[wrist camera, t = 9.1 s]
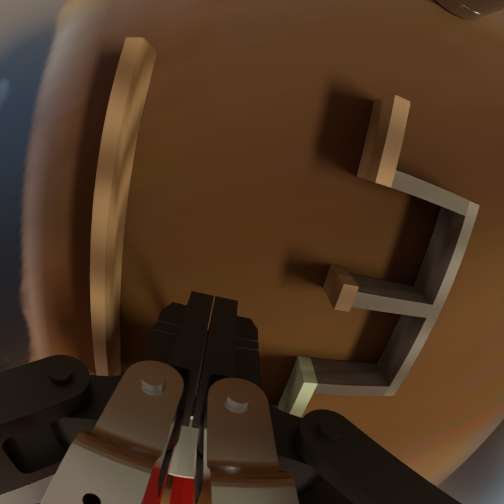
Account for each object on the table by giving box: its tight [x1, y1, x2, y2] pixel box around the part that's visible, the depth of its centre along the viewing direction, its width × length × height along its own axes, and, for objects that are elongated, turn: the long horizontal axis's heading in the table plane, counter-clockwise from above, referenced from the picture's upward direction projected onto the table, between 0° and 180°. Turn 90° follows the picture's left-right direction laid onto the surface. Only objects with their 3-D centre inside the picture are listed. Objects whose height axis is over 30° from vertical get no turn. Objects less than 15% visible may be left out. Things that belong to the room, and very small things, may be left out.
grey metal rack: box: [90, 38, 479, 417], centre depth 22 cm, size 30×27×4 cm
